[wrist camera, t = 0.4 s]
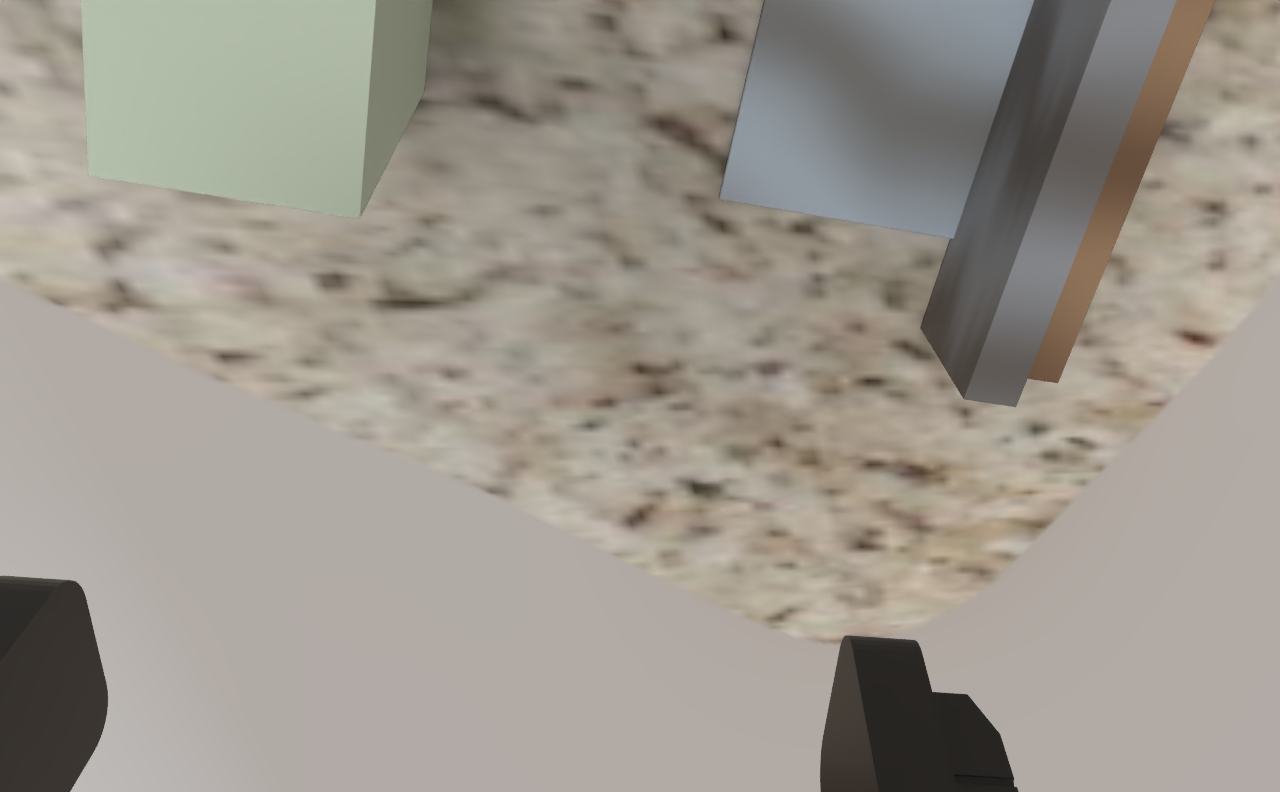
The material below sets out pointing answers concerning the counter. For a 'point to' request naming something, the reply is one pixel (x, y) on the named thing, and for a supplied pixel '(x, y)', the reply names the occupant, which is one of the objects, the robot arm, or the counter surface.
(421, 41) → the green block
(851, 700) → the robot arm
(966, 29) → the dock
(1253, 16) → the counter surface
